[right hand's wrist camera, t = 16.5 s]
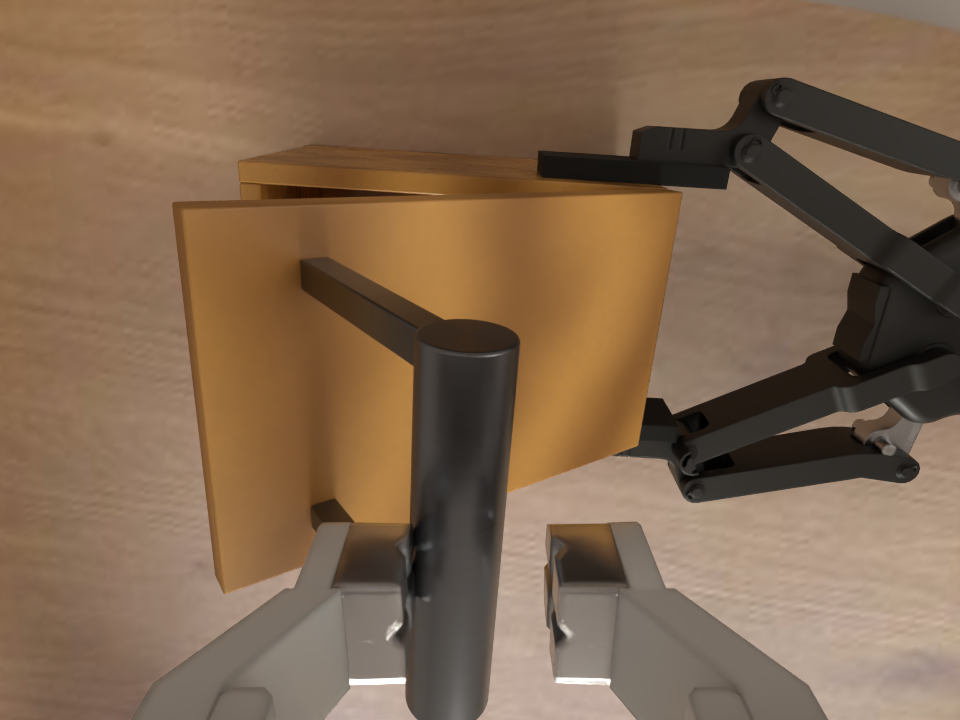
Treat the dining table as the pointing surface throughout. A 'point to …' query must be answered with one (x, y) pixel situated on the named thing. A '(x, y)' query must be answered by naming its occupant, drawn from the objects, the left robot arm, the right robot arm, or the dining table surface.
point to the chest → (397, 175)
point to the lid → (415, 380)
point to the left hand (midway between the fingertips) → (528, 296)
